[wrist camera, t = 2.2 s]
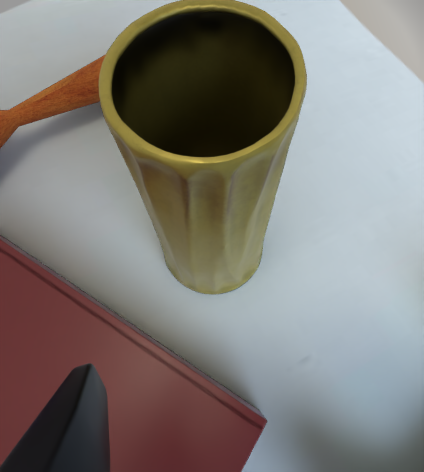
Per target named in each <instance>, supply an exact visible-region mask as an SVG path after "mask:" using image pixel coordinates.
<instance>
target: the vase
mask: <svg viewBox="0 0 424 472" xmlns="http://www.w3.org/2000/svg"><path fill="white" fill-rule="evenodd" d="M306 85H307V74H306V69H305V63H304V59H303V55H302V52H301V49H300V47H299V45H298V43H297V41H296V40H295V39H294V37H293V36H292V35H291V34H290V33H289V32H288V31H287V30H286V29H285V28H284V27H283V26H282V25H281V24H280V23H279V22H278V21H277V20H276V19H275V18H273V17H272V16H270V15H269V14H268V13H266V12H265V11H263V10H261V9H259V8H257V7H254V6H252V5H249V4H246V3H243V2H239V1H235V0H181V1H176V2H173V3H170V4H167V5H164V6H162V7H159V8H157V9H155V10H153V11H151V12H149V13H147V14H145V15H143V16H142V17H140V18H139V19H137V20H136V21H134V22H133V23H131V24H130V25H129V26H128V27H127V28H126V29H125V30H124V31H123V32H122V33H121V34H120V35H118V37H117V38H116V40H115V41H114V42H113V44H112V45H111V47H110V48H109V50H108V51H107V53H106V56H105V58H104V60H103V62H102V66H101V70H100V74H99V97H100V103H101V107H102V111H103V115H104V118H105V120H106V123H107V125H108V127H109V129H110V131H111V133H112V135H113V137H114V139H115V141H116V143H117V145H118V148H119V150H120V152H121V154H122V156H123V158H124V160H125V162H126V165H127V167H128V169H129V171H130V173H131V175H132V177H133V179H134V181H135V183H136V186H137V188H138V190H139V193H140V195H141V197H142V200H143V202H144V204H145V207H146V209H147V211H148V214H149V216H150V218H151V220H152V223H153V225H154V228H155V231H156V233H157V235H158V238H159V240H160V243H161V246H162V249H163V252H164V256H165V261H166V264H167V266H168V268H169V270H170V271H171V273H172V274H173V275H174V277H175V278H176V279H177V280H178V281H179V282H180V283H182V284H183V285H184V286H186V287H187V288H189V289H191V290H194V291H197V292H200V293H204V294H221V293H226V292H229V291H232V290H234V289H236V288H238V287H240V286H241V285H243V284H244V283H245V282H247V281H248V280H249V279H250V278H251V276H252V275H253V274H254V273H255V271H256V270H257V268H258V266H259V264H260V260H261V255H262V249H263V241H264V236H265V233H266V229H267V225H268V221H269V218H270V214H271V210H272V207H273V203H274V199H275V196H276V192H277V189H278V185H279V182H280V178H281V175H282V172H283V168H284V165H285V161H286V157H287V153H288V149H289V145H290V143H291V140H292V137H293V134H294V131H295V128H296V125H297V122H298V118H299V113H300V110H301V107H302V103H303V100H304V97H305V93H306Z"/></svg>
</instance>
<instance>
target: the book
mask: <svg viewBox="0 0 424 472" xmlns="http://www.w3.org/2000/svg"><path fill="white" fill-rule="evenodd" d="M88 363H91V364H93V365H94V366H95V368H96V370H97V372H98V374H99V376H100V378H101V380H102V382H103V384H104V386H105V388H106V392H107V400H108V420H109V440H110V472H241V471H242V469H243V467H244V465H245V463H246V462H247V460H248V458H249V456H250V454H251V452H252V450H253V448H254V446H255V444H256V442H257V440H258V438H259V437H260V435H261V433H262V431H263V429H264V427H265V425H266V423H267V420H266V419H265V417H264V416H263V415H262V413H261V412H260V411H259V410H258V409H256V408H255V407H254V406H252V405H251V404H249V403H248V402H246V401H245V400H243V399H242V398H240V397H239V396H237V395H236V394H234V393H233V392H231V391H230V390H228V389H227V388H225V387H224V386H223V385H221V384H220V383H218V382H217V381H215V380H214V379H212V378H211V377H209V376H208V375H206V374H205V373H203V372H202V371H200V370H199V369H197V368H196V367H194V366H193V365H191V364H190V363H189V362H187V361H186V360H184V359H183V358H181V357H180V356H178V355H177V354H175V353H174V352H172V351H171V350H169V349H168V348H166V347H165V346H163V345H162V344H160V343H159V342H158V341H156V340H155V339H153V338H152V337H150V336H149V335H147V334H146V333H144V332H143V331H141V330H140V329H138V328H137V327H135V326H134V325H132V324H131V323H129V322H128V321H127V320H125V319H124V318H122V317H121V316H119V315H118V314H116V313H115V312H113V311H112V310H110V309H109V308H107V307H106V306H104V305H103V304H101V303H100V302H98V301H97V300H95V299H94V298H93V297H91V296H90V295H88V294H87V293H85V292H84V291H82V290H81V289H79V288H78V287H76V286H75V285H73V284H72V283H70V282H69V281H67V280H66V279H64V278H63V277H62V276H60V275H59V274H57V273H56V272H54V271H53V270H51V269H50V268H48V267H47V266H45V265H44V264H42V263H41V262H39V261H38V260H36V259H35V258H33V257H32V256H30V255H29V254H28V253H26V252H25V251H23V250H22V249H20V248H19V247H17V246H16V245H14V244H13V243H11V242H10V241H8V240H7V239H5V238H4V237H2V236H1V235H0V466H1V464H2V463H3V462H4V460H5V459H6V458H7V456H8V455H9V454H10V452H11V451H12V450H13V448H14V447H15V446H16V444H17V443H18V442H19V440H20V439H21V438H22V436H23V435H24V433H25V432H26V431H27V429H28V428H29V427H30V425H31V424H32V423H33V421H34V420H35V419H36V417H37V416H38V415H39V413H40V412H41V411H42V409H43V408H44V407H45V405H46V404H47V403H48V401H49V400H50V399H51V397H52V396H53V395H54V393H55V392H56V391H57V389H58V388H59V387H60V385H61V384H62V383H63V381H64V380H65V379H66V377H67V376H68V375H69V373H70V372H71V371H72V369H74V368H75V367H78V366H81V365H85V364H88Z"/></svg>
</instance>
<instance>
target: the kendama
mask: <svg viewBox="0 0 424 472" xmlns="http://www.w3.org/2000/svg"><path fill="white" fill-rule="evenodd" d="M105 56H106V55H104V56H102V57H101V58H99V59H97V60H95V61H94V62H92V63H90V64H88V65H87V66H85V67H83V68H81V69H80V70H78V71H76V72H74V73H73V74H71V75H69V76H67V77H66V78H64V79H62V80H60V81H59V82H57V83H55V84H53V85H52V86H50V87H48V88H46V89H45V90H43V91H41V92H39V93H38V94H36V95H34V96H32V97H31V98H29V99H27V100H25V101H24V102H22V103H20V104H18V105H17V106H15V107H13V108H11V109H10V110H0V148H1V147H2V146H3V145H4V144H5V142H6V141H7V140H8V139H9V137H10V136H11V135H12V134H13V133H14V131H15V130H16V129H17V128H18V127H19V126H22V125H25V124H28V123H32V122H35V121H38V120H41V119H45V118H48V117H51V116H54V115H57V114H61V113H64V112H67V111H70V110H74V109H77V108H80V107H83V106H87V105H90V104H93V103H96V102H99V101H100V97H99V74H100V70H101V66H102V62H103V60H104V58H105Z"/></svg>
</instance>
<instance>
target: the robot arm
mask: <svg viewBox="0 0 424 472" xmlns="http://www.w3.org/2000/svg"><path fill="white" fill-rule="evenodd" d="M0 472H110V440H109V420H108V400H107V392H106V388H105V386H104V384H103V382H102V380H101V378H100V376H99V374H98V372H97V370H96V368H95V366H94V365H93V364H91V363H88V364H85V365H81V366H78V367H75V368H74V369H72V371H71V372H70V373H69V375H68V376H67V377H66V379H65V380H64V381H63V383H62V384H61V385H60V387H59V388H58V389H57V391H56V392H55V393H54V395H53V396H52V397H51V399H50V400H49V401H48V403H47V404H46V405H45V407H44V408H43V409H42V411H41V412H40V413H39V415H38V416H37V417H36V419H35V420H34V421H33V423H32V424H31V425H30V427H29V428H28V429H27V431H26V432H25V433H24V435H23V436H22V438H21V439H20V440H19V442H18V443H17V444H16V446H15V447H14V448H13V450H12V451H11V452H10V454H9V455H8V456H7V458H6V459H5V460H4V462H3V463H2V464H1V466H0Z"/></svg>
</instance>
